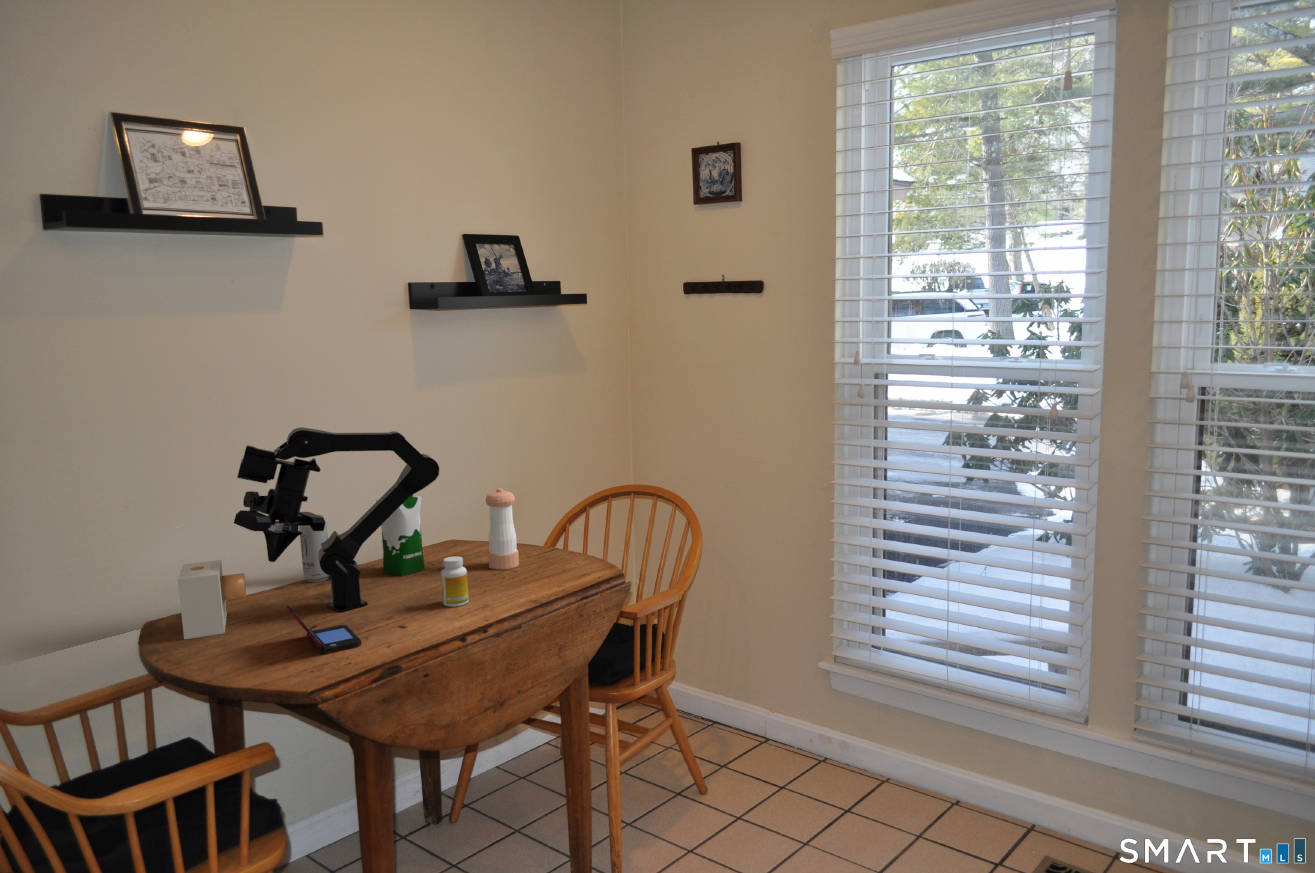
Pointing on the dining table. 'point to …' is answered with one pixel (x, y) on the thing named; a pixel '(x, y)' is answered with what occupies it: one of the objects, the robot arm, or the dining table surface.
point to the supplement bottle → (454, 582)
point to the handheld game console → (330, 637)
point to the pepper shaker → (502, 531)
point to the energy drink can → (312, 553)
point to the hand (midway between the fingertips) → (271, 561)
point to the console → (202, 599)
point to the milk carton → (403, 539)
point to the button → (233, 586)
